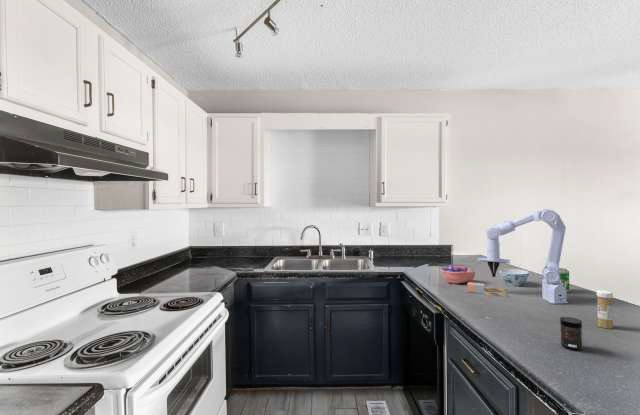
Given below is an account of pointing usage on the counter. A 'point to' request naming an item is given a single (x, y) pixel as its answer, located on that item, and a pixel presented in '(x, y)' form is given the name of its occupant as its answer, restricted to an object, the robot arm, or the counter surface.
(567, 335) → the supplement container
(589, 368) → the counter surface
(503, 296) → the maple chute
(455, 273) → the cell model
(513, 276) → the chinaware
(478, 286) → the grey-blue block
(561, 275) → the soda can
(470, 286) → the terracotta block
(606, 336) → the counter surface
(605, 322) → the sprinkles bottle
